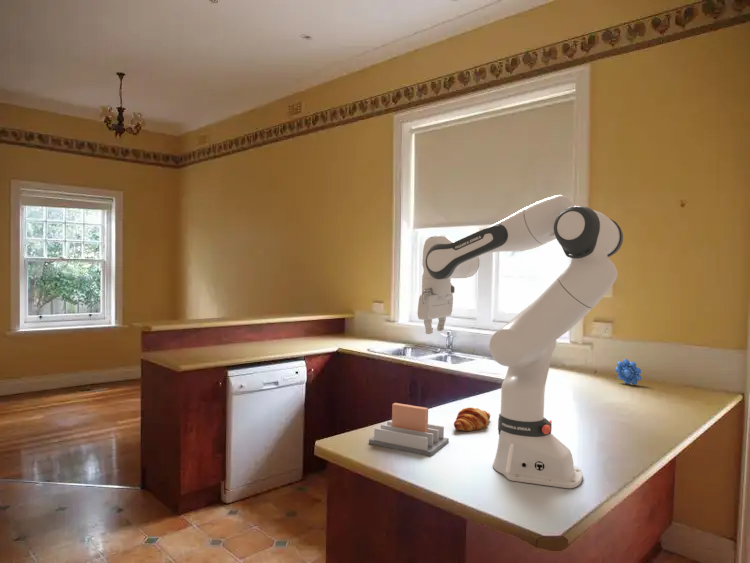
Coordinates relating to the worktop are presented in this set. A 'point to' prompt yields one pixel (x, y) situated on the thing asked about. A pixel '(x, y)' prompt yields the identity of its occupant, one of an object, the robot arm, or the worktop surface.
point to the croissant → (471, 419)
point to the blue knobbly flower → (628, 372)
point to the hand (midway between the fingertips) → (434, 332)
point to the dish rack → (410, 439)
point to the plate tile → (410, 417)
